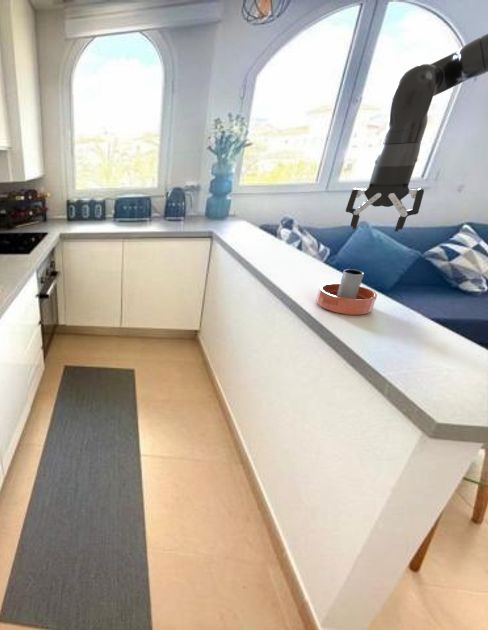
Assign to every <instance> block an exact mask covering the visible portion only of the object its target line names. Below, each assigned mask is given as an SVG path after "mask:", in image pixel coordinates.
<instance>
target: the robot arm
mask: <svg viewBox="0 0 488 630" xmlns="http://www.w3.org/2000/svg"><path fill="white" fill-rule="evenodd" d="M487 73H488V33H486V34H484V35H482V36H480V37H478V38H476V39H474V40H472V41H470V42H468V43H466V44H465V45H463V46H462V47H461V48H460V49H458V50H457V51H455V52H454V53H450V54H449V55H447V56H445V57H443V58H440V59H438V60H437V61H434V62H431V63H423V64H422V63H421V64H419V65H416V66H414V67H411V68H410V69H408V70H407V71H406V72H404V74H402V76H401V77H400V78H399V80H398V81H397V83H396V85H395V88H394V92H393V95H392V100H391V105H390V111H389V120H388V123H387V126H386V129H385V132H384V136H383V138H382V139H383V140H382V143H381V145H380V148H379V151H378V153H377V156H376V159H375V161H374V166H373V169H372V173H371V176H370V179H369V180H370V181H369V184H368V187H367V188H358V187H354V188H353V189H352V190H351V193H350V196H349V199H348V202H347V205H346V208H345V212H346V213H349V214H352V218H351V221H350V227H351V228H352V230H356V229H358V228H357V227H358V224H359V220H360V217H361V213H362V212H363V211H364V210H366V209H367V208H368V207H369V206H373V207H375V208H376V207H385V208H390V207H393V206H394V208H395V209H396V211H397V212H398V213H399V215H398V219H397V221H396V225H395V228H394V232H395V233H398V232H399V230H403V228H404V226H405V223H406V220H407V218H408V217H409V216H413V215H414V216H416V215H418V214H419V212H420V208H421V205H422V201H423V197H424V193H425V189H424V188H423V187H419V188H411V189H410V188H409V186H410V182H411V179H412V177H413V174H414V173H413V172H414V169H415V166H416V163H417V162H418V157H419V155H420V151H421V145H422V141H423V137H424V134H425V132H426V129H427V126H428V121H429V117H428V113H429V109H430V107H431V105H432V101H433V98H434V97H435V96H437V95H439V94H442V93H444V92H445V91H448V90H450V89H453V88H454V87H456V86H458V85H460V84H462V83H464V82H466V81H469V80H471V79H473V78H477V77H479V76H482V75H484V74H487ZM363 194H364V196H365V198H366V199H367V200H366V201H364V202H363V203H362V204H361V205H360V206H358V207H357V208H356V207H354V205H355V203H356V200H357V198H360V197H361V195H363ZM408 195H410V197H411V199H414V201H413V205H412V208H411V209H407V208H406V207H405V205H404V203H403V201H402V200H403V199H404V198H405V197H407V196H408Z"/></svg>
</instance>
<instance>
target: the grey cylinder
mask: <svg viewBox="0 0 488 630" xmlns="http://www.w3.org/2000/svg"><path fill="white" fill-rule="evenodd" d="M364 274H365V272H363V271H361V270H358V269H344V270H343V272H342V276H341V278H340V279H341V280H340V282H339V283H340V286H339V289H338V292H337V296H338V297H342V298H348V299H356V297H357V293H358V290H359V287H360V286H361V284H362V281H363V278H364Z"/></svg>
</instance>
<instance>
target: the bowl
mask: <svg viewBox="0 0 488 630" xmlns="http://www.w3.org/2000/svg"><path fill="white" fill-rule="evenodd" d="M339 286H340V282H330V283H329V282H328V283H324V284H322V285H320V287H319V288H318V289H319V290H318V293H317V296H316V301H315V302H316V304H317V305H319V306H320V307H321V308H324V310H327V311H329V312H333V313H337V314H341V315H347V316H348V315H349V316H351V315H352V316H357V315H358V316H359V315H366V314H369V313H371V312H372V311H373V308H374V305H375V303H376V300H377V297H378V294H377V293H376V292H375V291H374V290H372V289H370V288H368V287H365V286H361V285H360V287H359V290H358V293H357V297H356V299H348V298H342V297H338V296H337V292H338V289H339Z"/></svg>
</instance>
